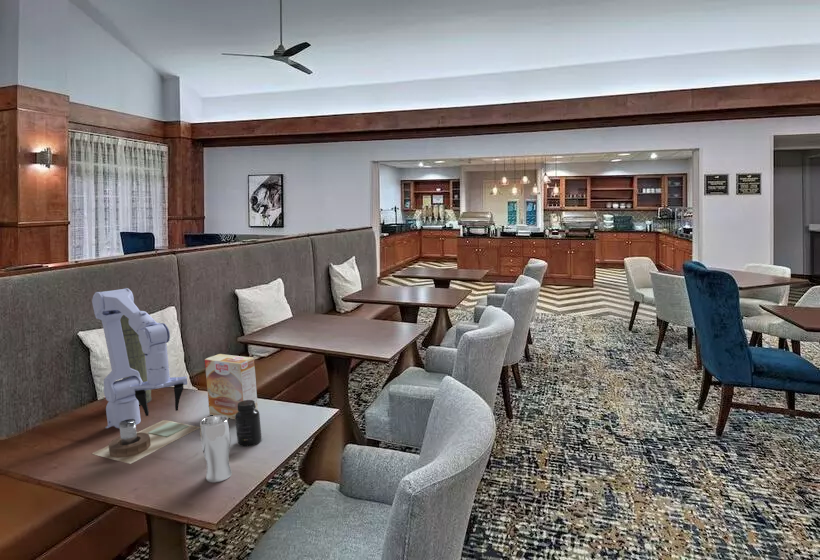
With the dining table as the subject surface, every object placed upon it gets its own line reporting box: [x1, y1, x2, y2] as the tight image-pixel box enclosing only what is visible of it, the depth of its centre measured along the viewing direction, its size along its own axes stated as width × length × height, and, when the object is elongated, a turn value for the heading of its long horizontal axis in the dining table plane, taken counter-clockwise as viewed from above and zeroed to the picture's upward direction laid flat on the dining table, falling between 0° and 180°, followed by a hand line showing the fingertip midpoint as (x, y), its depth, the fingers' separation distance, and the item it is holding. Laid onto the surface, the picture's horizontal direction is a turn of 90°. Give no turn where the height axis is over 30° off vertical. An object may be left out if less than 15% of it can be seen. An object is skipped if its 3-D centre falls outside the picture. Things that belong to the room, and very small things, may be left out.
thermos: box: [120, 306, 152, 406], centre depth 177 cm, size 9×12×35 cm
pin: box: [118, 419, 138, 445], centre depth 140 cm, size 4×4×8 cm
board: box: [91, 419, 200, 465], centre depth 146 cm, size 16×24×4 cm, turn 156°
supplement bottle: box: [234, 400, 263, 448], centre depth 144 cm, size 7×7×12 cm
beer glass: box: [199, 415, 233, 483], centre depth 125 cm, size 7×7×15 cm
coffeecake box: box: [204, 353, 259, 420], centre depth 164 cm, size 15×7×20 cm, turn 67°
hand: (162, 412), depth 143 cm, fingers open, 7 cm apart
